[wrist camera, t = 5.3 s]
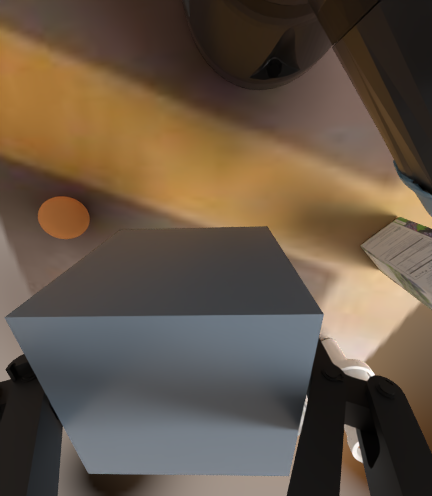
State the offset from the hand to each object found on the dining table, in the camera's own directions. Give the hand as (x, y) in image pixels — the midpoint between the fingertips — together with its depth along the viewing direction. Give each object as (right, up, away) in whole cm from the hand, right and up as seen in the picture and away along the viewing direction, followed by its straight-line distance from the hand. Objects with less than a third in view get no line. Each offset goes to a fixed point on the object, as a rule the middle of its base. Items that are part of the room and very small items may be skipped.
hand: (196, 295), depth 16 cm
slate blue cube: (0, 0, +1) cm, 1 cm away
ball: (-16, +7, +9) cm, 20 cm away
